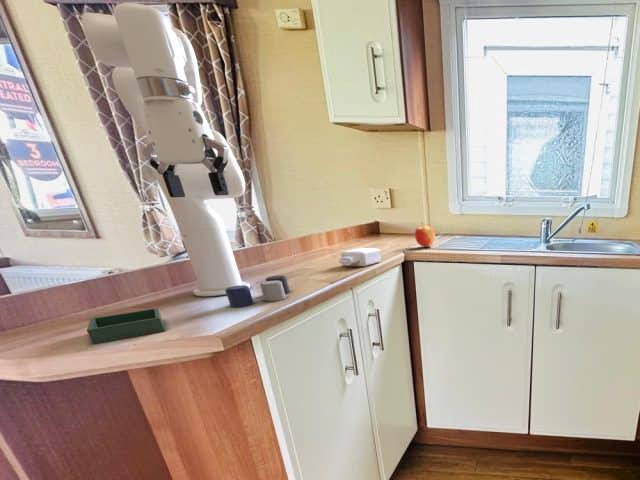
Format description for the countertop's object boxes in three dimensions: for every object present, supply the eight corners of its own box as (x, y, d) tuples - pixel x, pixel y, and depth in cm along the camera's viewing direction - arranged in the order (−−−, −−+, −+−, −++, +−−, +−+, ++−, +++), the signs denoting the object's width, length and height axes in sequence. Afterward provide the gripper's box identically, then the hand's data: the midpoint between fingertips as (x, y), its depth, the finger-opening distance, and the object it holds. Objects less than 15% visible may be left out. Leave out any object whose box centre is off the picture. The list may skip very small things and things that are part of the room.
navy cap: (229, 304, 97) (223, 287, 95) (251, 301, 99) (246, 284, 98) (232, 308, 94) (226, 290, 92) (255, 304, 96) (250, 287, 95)
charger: (330, 269, 135) (359, 261, 148) (354, 270, 133) (381, 262, 145) (327, 254, 133) (356, 247, 146) (351, 254, 131) (379, 247, 143)
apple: (439, 246, 179) (437, 221, 174) (424, 248, 173) (421, 222, 169) (428, 245, 184) (425, 220, 180) (413, 247, 179) (409, 222, 174)
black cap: (267, 293, 107) (263, 277, 105) (287, 290, 109) (283, 274, 108) (272, 296, 104) (267, 279, 102) (292, 292, 106) (287, 276, 104)
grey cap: (262, 299, 101) (257, 282, 99) (283, 295, 103) (278, 279, 102) (267, 302, 98) (261, 285, 96) (288, 298, 100) (283, 282, 98)
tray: (97, 331, 81) (90, 318, 80) (162, 320, 87) (157, 307, 86) (93, 344, 74) (86, 330, 73) (165, 331, 80) (159, 317, 79)
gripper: (224, 94, 79) (252, 194, 87) (143, 100, 81) (176, 197, 89) (193, 86, 73) (226, 195, 80) (105, 93, 75) (144, 198, 82)
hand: (199, 196), depth 84 cm, fingers open, 9 cm apart
